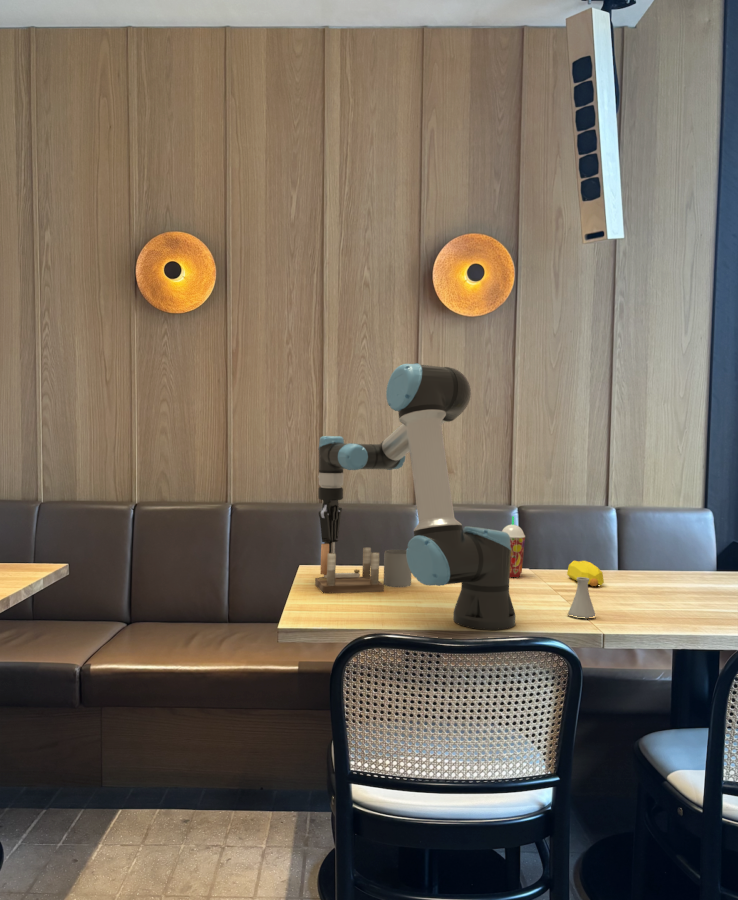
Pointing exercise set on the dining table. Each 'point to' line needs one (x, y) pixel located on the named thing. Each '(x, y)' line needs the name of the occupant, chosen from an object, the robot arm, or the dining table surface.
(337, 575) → the crank handle
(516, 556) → the smoothie
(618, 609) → the dining table surface
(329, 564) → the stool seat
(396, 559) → the cup
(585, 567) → the yellow lumpy oval
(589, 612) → the flask
